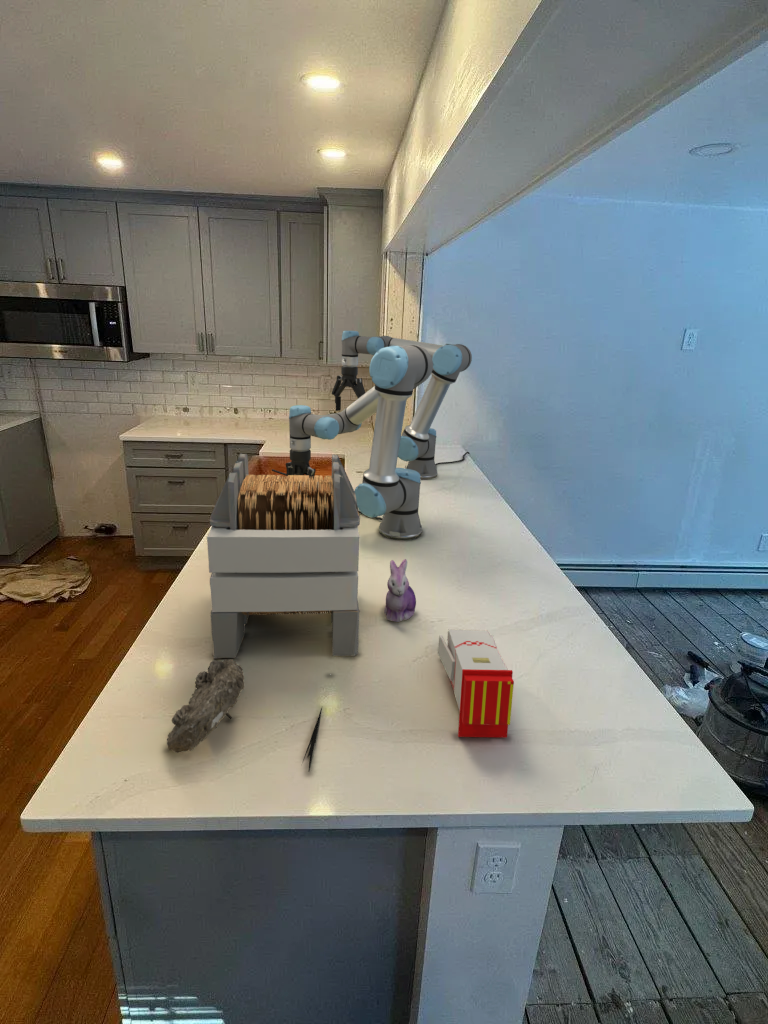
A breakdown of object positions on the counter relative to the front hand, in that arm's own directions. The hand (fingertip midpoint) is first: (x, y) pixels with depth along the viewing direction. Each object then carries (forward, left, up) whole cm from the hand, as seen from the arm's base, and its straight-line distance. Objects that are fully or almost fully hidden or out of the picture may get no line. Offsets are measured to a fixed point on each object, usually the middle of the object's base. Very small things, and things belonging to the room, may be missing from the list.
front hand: (300, 509), depth 211 cm
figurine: (+76, -18, -3) cm, 78 cm away
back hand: (-42, +54, +25) cm, 73 cm away
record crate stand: (+61, -43, -3) cm, 75 cm away
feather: (+96, -57, -3) cm, 112 cm away
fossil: (+83, -73, -3) cm, 111 cm away
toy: (+108, -28, -3) cm, 112 cm away
